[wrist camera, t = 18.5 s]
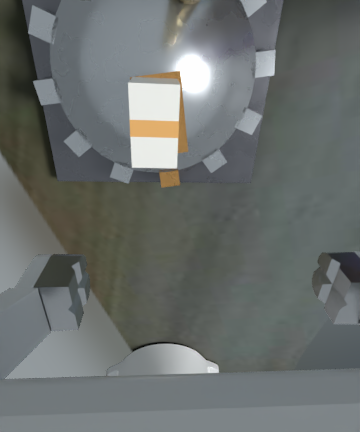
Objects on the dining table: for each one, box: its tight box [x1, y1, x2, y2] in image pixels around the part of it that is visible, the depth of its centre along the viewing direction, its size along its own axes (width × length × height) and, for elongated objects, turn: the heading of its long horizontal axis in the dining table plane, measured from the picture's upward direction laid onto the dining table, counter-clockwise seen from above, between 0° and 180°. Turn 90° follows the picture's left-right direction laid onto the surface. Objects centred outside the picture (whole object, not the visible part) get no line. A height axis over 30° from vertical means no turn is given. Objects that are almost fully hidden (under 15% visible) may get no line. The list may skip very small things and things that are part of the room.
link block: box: [128, 77, 180, 168], centre depth 22 cm, size 6×4×4 cm, turn 178°
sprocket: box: [28, 0, 275, 187], centre depth 21 cm, size 19×19×8 cm
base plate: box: [22, 0, 283, 183], centre depth 25 cm, size 20×20×1 cm
